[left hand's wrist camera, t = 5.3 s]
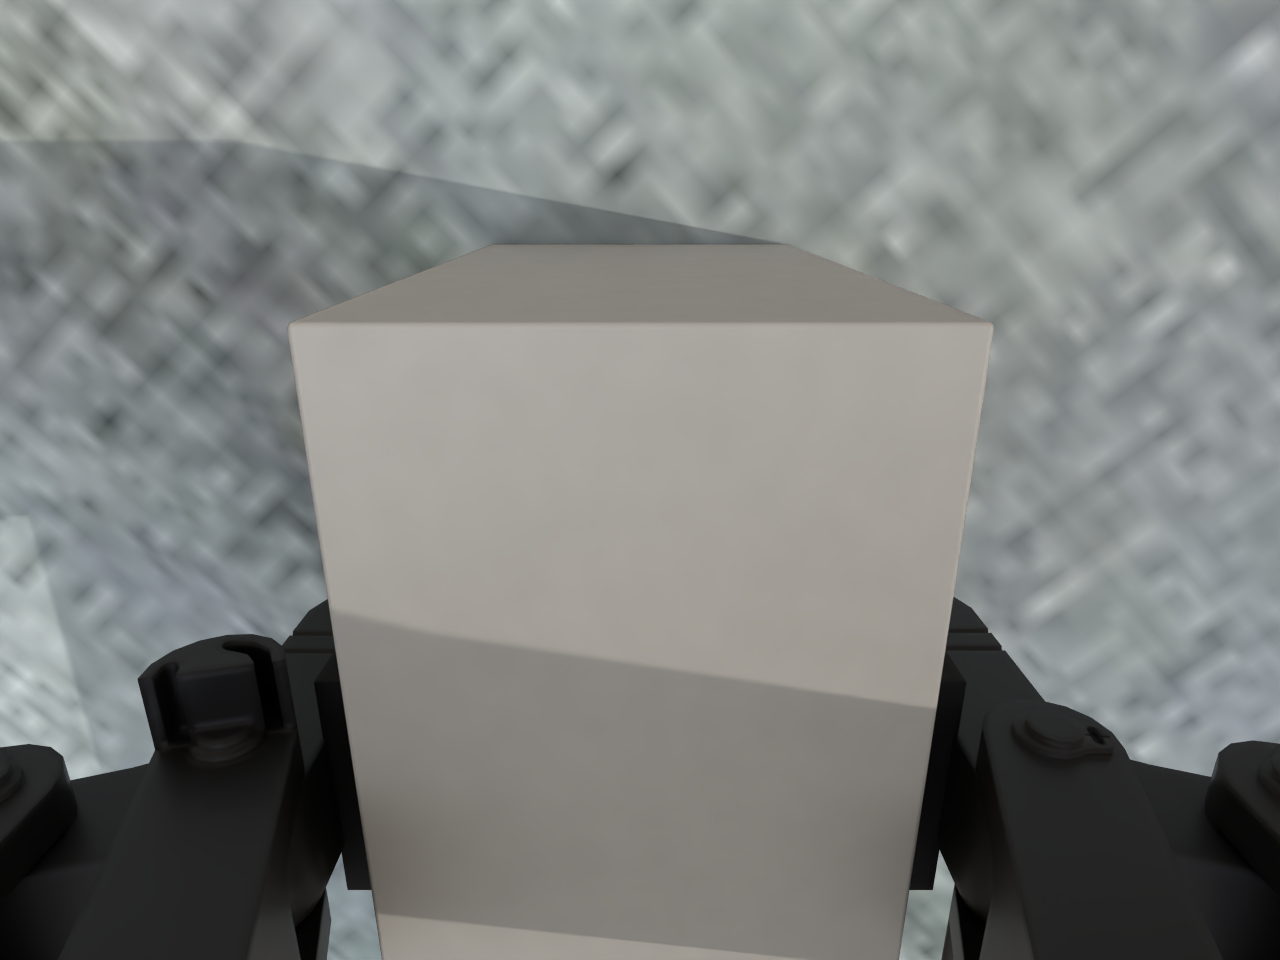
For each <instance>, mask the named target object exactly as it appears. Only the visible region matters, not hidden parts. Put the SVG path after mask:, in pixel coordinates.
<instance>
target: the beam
mask: <svg viewBox="0 0 1280 960" xmlns="http://www.w3.org/2000/svg"><path fill="white" fill-rule="evenodd" d="M287 330H288V337H289V344H290V350H291V357H292V364H293V370H294V377H295V384H296V390H297V397H298V403H299V410H300V417H301V423H302V430H303V437H304V443H305V450H306V457H307V463H308V470H309V477H310V483H311V490H312V497H313V503H314V510H315V517H316V523H317V530H318V537H319V543H320V550H321V557H322V563H323V570H324V576H325V583H326V590H327V596H328V603H329V610H330V616H331V623H332V630H333V636H334V643H335V650H336V656H337V663H338V670H339V676H340V683H341V690H342V696H343V703H344V710H345V716H346V723H347V730H348V736H349V743H350V749H351V756H352V763H353V769H354V776H355V783H356V789H357V796H358V803H359V809H360V816H361V823H362V829H363V836H364V843H365V849H366V856H367V863H368V869H369V876H370V883H371V889H372V896H373V903H374V909H375V916H376V922H377V929H378V936H379V942H380V949H381V956H382V960H899V954H900V948H901V941H902V934H903V928H904V921H905V914H906V908H907V901H908V895H909V888H910V881H911V875H912V868H913V861H914V855H915V848H916V841H917V835H918V828H919V822H920V815H921V808H922V802H923V795H924V788H925V782H926V775H927V769H928V762H929V755H930V749H931V742H932V735H933V729H934V722H935V716H936V709H937V702H938V696H939V689H940V682H941V676H942V669H943V663H944V656H945V649H946V643H947V636H948V629H949V623H950V616H951V609H952V603H953V596H954V590H955V583H956V576H957V570H958V563H959V556H960V550H961V543H962V537H963V530H964V523H965V517H966V510H967V503H968V497H969V490H970V484H971V477H972V470H973V464H974V457H975V450H976V444H977V437H978V430H979V424H980V417H981V411H982V404H983V397H984V391H985V384H986V377H987V371H988V364H989V358H990V351H991V344H992V338H993V331H994V328H993V324H992V323H990V322H988V321H986V320H983V319H981V318H978V317H975V316H973V315H970V314H968V313H965V312H962V311H960V310H957V309H955V308H952V307H949V306H947V305H944V304H942V303H939V302H936V301H934V300H931V299H929V298H926V297H923V296H921V295H918V294H916V293H913V292H910V291H908V290H905V289H903V288H900V287H897V286H895V285H892V284H890V283H887V282H884V281H882V280H879V279H877V278H874V277H871V276H869V275H866V274H864V273H861V272H858V271H856V270H853V269H851V268H848V267H845V266H843V265H840V264H838V263H835V262H832V261H830V260H827V259H825V258H822V257H819V256H817V255H814V254H812V253H809V252H806V251H804V250H801V249H799V248H796V247H793V246H791V245H489V246H487V247H484V248H482V249H479V250H476V251H474V252H471V253H469V254H466V255H464V256H461V257H458V258H456V259H453V260H451V261H448V262H445V263H443V264H440V265H438V266H435V267H433V268H430V269H427V270H425V271H422V272H420V273H417V274H414V275H412V276H409V277H407V278H404V279H401V280H399V281H396V282H394V283H391V284H389V285H386V286H383V287H381V288H378V289H376V290H373V291H370V292H368V293H365V294H363V295H360V296H357V297H355V298H352V299H350V300H347V301H345V302H342V303H339V304H337V305H334V306H332V307H329V308H326V309H324V310H321V311H319V312H316V313H314V314H311V315H308V316H306V317H303V318H301V319H298V320H295V321H293V322H291V323H289V324H288V328H287Z"/></svg>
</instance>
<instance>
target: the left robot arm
mask: <svg viewBox="0 0 1280 960" xmlns="http://www.w3.org/2000/svg"><path fill="white" fill-rule="evenodd" d="M138 683H139V687H140V691H141V695H142V699H143V703H144V707H145V711H146V715H147V719H148V723H149V727H150V731H151V735H152V739H153V743H154V746H155V752H154V754H153V756H152V758H151V760H150V763H149V764H145V765H141V766H137V767H134V768H129V769H124V770H119V771H114V772H109V773H105V774H100V775H95V776H90V777H85V778H80V779H75V780H70V778H69V775H68V771H67V768H66V765H65V762H64V758H63V756H62V755H60V754H59V753H58V752H57V751H55V750H54V749H53V748H51V747H46V746H39V745H32V744H26V745H17V746H9V747H0V960H327V952H328V943H329V934H330V926H331V916H330V909H329V902H328V897H327V891H326V885H327V883H328V881H329V879H330V876H331V874H332V872H333V870H334V868H335V865H336V863H337V861H338V859H339V856H340V854H341V852H342V858H343V864H344V870H345V876H346V882H347V888H348V890H372V889H371V883H370V876H369V869H368V863H367V856H366V849H365V843H364V836H363V829H362V823H361V816H360V809H359V803H358V796H357V789H356V783H355V776H354V769H353V763H352V756H351V749H350V743H349V736H348V730H347V723H346V716H345V710H344V703H343V696H342V690H341V683H340V676H339V670H338V663H337V656H336V650H335V643H334V636H333V630H332V623H331V616H330V610H329V603H328V599H327V600H325V601H324V602H322V603H321V604H319V605H318V606H316V607H314V608H313V609H311V610H310V611H309V612H308V613H307V614H306V616H305V617H304V618H303V619H302V621H301V622H300V623H299V624H298V626H297V627H296V628H295V630H294V631H293V636H289V637H288V639H287V640H286V641H285V642H284V644H283V645H282V646H281V645H280V644H279V643H277V642H276V641H275V640H273V639H272V638H268V637H263V636H258V635H254V634H243V635H225V636H220V637H215V638H210V639H205V640H201V641H198V642H195V643H192V644H190V645H187V646H184V647H182V648H179V649H177V650H174V651H172V652H170V653H169V654H167V655H165V656H164V657H162V658H160V659H159V660H157V661H156V662H154V663H152V664H151V665H150V666H149V667H148V668H147V669H146V670H145V671H144V673H143V674H142V675H141V676H140V677H139V678H138ZM939 849H940V851H941V854H942V856H943V858H944V860H945V863H946V865H947V867H948V869H949V871H950V874H951V876H952V878H953V880H954V882H955V885H954V891H953V897H952V902H951V908H950V914H949V920H948V925H947V931H946V937H945V942H944V948H943V954H942V960H953V959H954V960H1280V744H1277V743H1269V742H1261V741H1246V742H1239V743H1231V744H1230V745H1228V746H1227V747H1226V748H1224V749H1223V750H1222V751H1220V752H1219V754H1218V757H1217V760H1216V764H1215V767H1214V770H1213V774H1212V777H1208V776H1203V775H1198V774H1193V773H1188V772H1183V771H1179V770H1174V769H1169V768H1164V767H1159V766H1154V765H1149V764H1145V763H1141V762H1138V761H1134V760H1130V759H1129V757H1128V755H1127V753H1126V750H1125V749H1124V747H1123V746H1122V745H1121V743H1120V742H1119V741H1118V740H1117V738H1116V737H1115V736H1114V734H1113V733H1112V732H1111V731H1109V730H1108V729H1106V728H1105V727H1104V726H1102V725H1101V724H1099V723H1098V722H1097V721H1095V720H1094V719H1092V718H1091V717H1088V716H1086V715H1084V714H1082V713H1079V712H1077V711H1075V710H1072V709H1070V708H1068V707H1065V706H1061V705H1057V704H1053V703H1049V702H1045V701H1044V699H1043V698H1042V697H1041V696H1040V694H1039V693H1038V692H1037V691H1036V689H1035V688H1034V687H1033V685H1032V684H1031V683H1030V682H1029V680H1028V679H1027V678H1026V677H1025V675H1024V674H1023V673H1022V672H1021V670H1020V669H1019V668H1018V666H1017V665H1016V664H1015V663H1014V661H1013V660H1012V659H1011V658H1010V656H1009V655H1008V654H1007V652H1006V651H1002V649H1001V645H1000V644H999V642H998V641H997V640H996V638H995V637H994V636H993V635H992V633H988V628H987V627H986V626H985V625H984V623H983V622H982V621H981V619H980V618H979V617H978V616H977V614H976V613H975V612H974V611H973V609H972V608H971V607H969V606H967V605H966V604H964V603H963V602H961V601H959V600H958V599H956V598H955V597H953V603H952V609H951V616H950V623H949V629H948V636H947V643H946V649H945V656H944V663H943V669H942V676H941V682H940V689H939V696H938V702H937V709H936V716H935V722H934V729H933V735H932V742H931V749H930V755H929V762H928V769H927V775H926V782H925V788H924V795H923V802H922V808H921V815H920V822H919V828H918V835H917V841H916V848H915V855H914V861H913V868H912V875H911V881H910V888H909V890H933V885H934V879H935V873H936V867H937V861H938V854H939Z"/></svg>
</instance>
